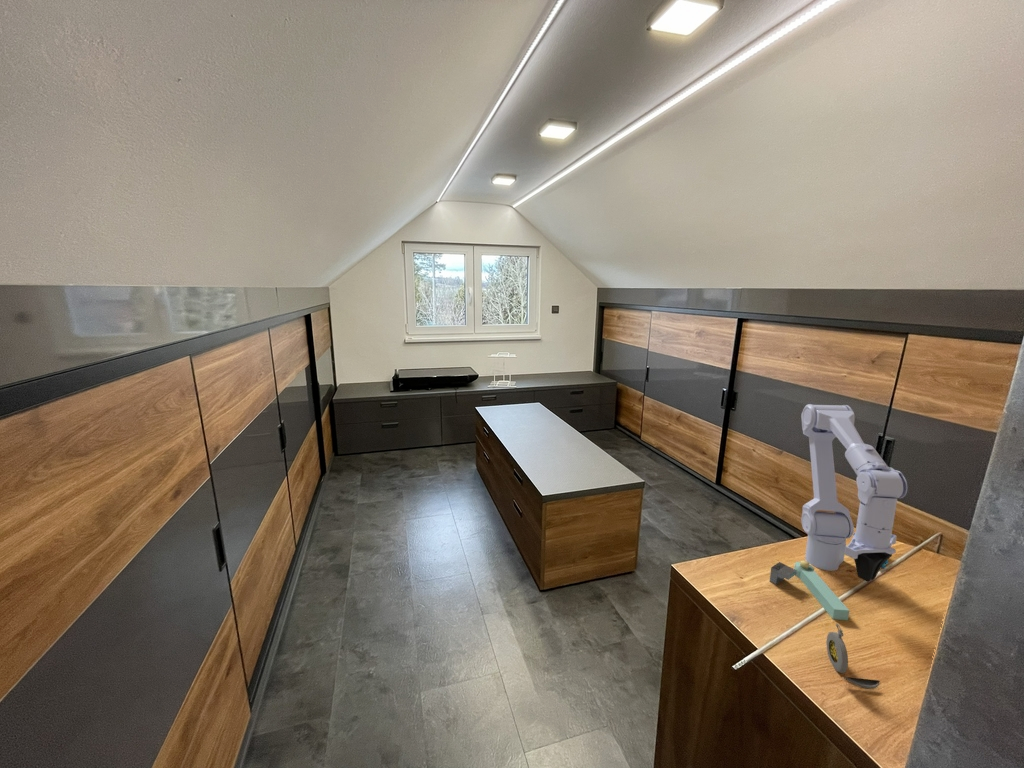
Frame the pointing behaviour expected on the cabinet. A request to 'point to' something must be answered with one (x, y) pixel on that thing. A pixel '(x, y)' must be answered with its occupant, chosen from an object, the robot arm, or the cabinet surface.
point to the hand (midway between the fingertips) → (865, 578)
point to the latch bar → (821, 591)
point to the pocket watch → (844, 659)
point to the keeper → (781, 573)
